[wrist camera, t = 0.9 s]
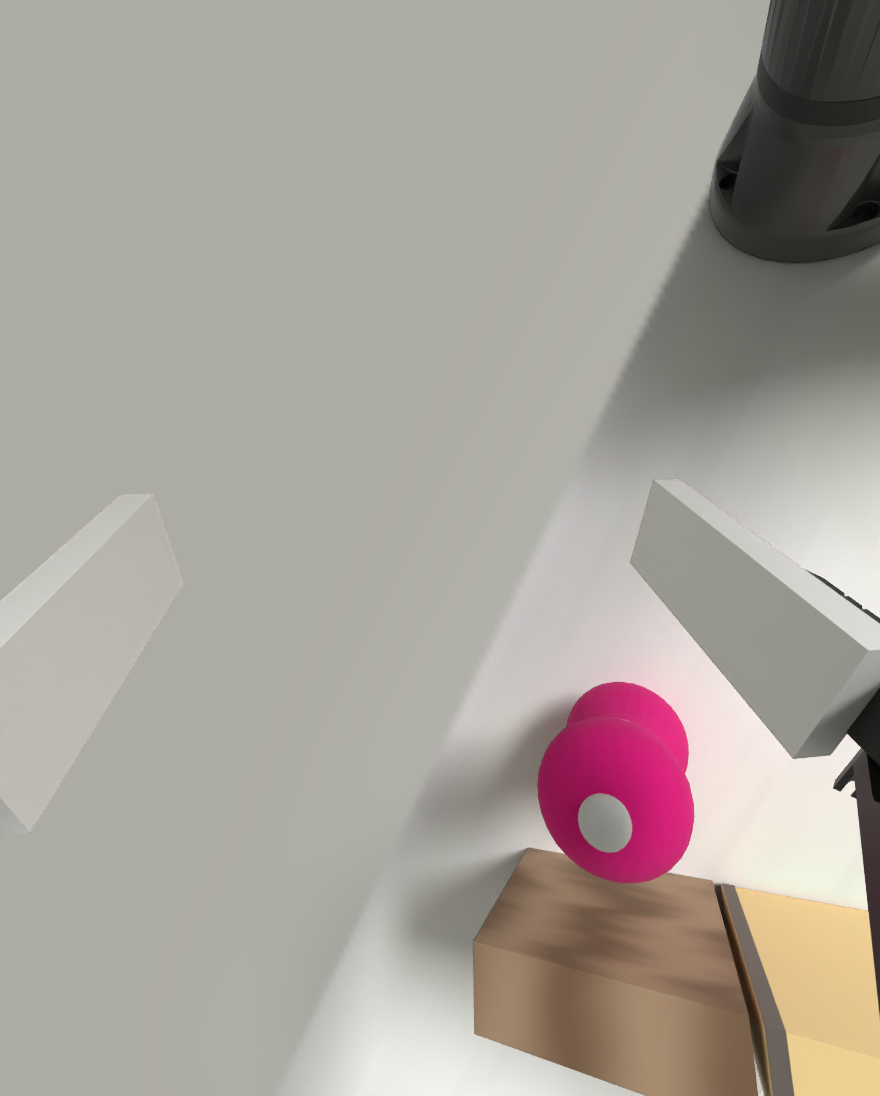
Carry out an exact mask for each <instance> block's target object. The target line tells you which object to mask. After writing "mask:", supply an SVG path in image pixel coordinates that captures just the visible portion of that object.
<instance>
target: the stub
mask: <svg viewBox="0 0 880 1096" xmlns="http://www.w3.org/2000/svg"><path fill="white" fill-rule="evenodd" d="M721 890H722V899H723V908H724V917H725V926H726V933H727V937H728V941H729V945H730V948H731V952H732V956H733V960H734V963H735V967H736V971H737V974H738V978H739V982H740V986H741V989H742V993H743V997H744V1001H745V1004H746V1008H747V1012H748V1015H749V1022H750V1031H751V1039H752V1048H753V1053H754V1057H755V1061H756V1065H757V1069H758V1073H759V1077H760V1081H761V1085H762V1089H763V1092H764V1096H880V1016H879V1006H878V997H877V987H876V978H875V968H874V959H873V949H872V940H871V930H870V921H869V911H864V910H859V909H853V908H848V907H842V906H837V905H831V904H826V903H820V902H814V901H809V900H803V899H798V898H792V897H787V896H781V895H776V894H770V893H765V892H759V891H754V890H748V889H743V888H737V887H735V886H733V885H727V884H722V885H721Z"/></svg>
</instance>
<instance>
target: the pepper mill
mask: <svg viewBox="0 0 880 1096" xmlns="http://www.w3.org/2000/svg"><path fill="white" fill-rule="evenodd" d="M688 755H689V751H688V741H687V736H686V732H685V730H684V727H683V725H682V723H681V721H680V719H679V717H678V716H677V714H676V713H675V712H674V710H673V709H672V708H671V706H670V705H668V704H667V703H666V702H665V701H664V700H663V699H662V698H661V697H659V696H658V695H657V694H655V693H654V692H652V691H650V690H648V689H646V688H644V687H642V686H639V685H635V684H632V683H626V682H611V683H606V684H601V685H599V686H597V687H594V688H592V689H591V690H589V691H587V692H586V693H585V694H584V695H583V696H582V697H580V698H579V700H578V701H577V702H576V704H575V705H574V707H573V709H572V711H571V713H570V716H569V718H568V722H567V726H566V728H565V729H563V730H562V731H561V732H560V733H559V734H558V735H557V737H556V738H555V739H554V740H553V741H552V742H551V743H550V745H549V746H548V748H547V750H546V752H545V754H544V757H543V759H542V762H541V766H540V769H539V775H538V799H539V804H540V808H541V813H542V815H543V818H544V821H545V824H546V826H547V828H548V830H549V832H550V834H551V835H552V837H553V839H554V840H555V842H556V844H557V845H558V846H559V847H560V848H561V850H562V851H563V852H564V853H565V854H566V855H567V856H568V858H570V859H571V860H572V861H573V862H574V863H576V864H577V865H578V866H579V867H580V868H582V869H584V870H585V871H587V872H589V873H590V874H592V875H594V876H597V877H600V878H602V879H605V880H608V881H612V882H617V883H623V884H626V883H641V882H647V881H651V880H653V879H656V878H658V877H660V876H661V875H663V874H664V873H666V872H668V871H669V870H671V868H672V867H673V866H674V865H675V864H676V863H677V862H678V861H679V860H680V859H681V858H682V856H683V854H684V852H685V851H686V849H687V847H688V845H689V841H690V838H691V834H692V830H693V823H694V803H693V798H692V794H691V789H690V785H689V782H688V780H687V777H686V775H685V772H686V769H687V764H688Z"/></svg>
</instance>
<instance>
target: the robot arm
mask: <svg viewBox="0 0 880 1096" xmlns="http://www.w3.org/2000/svg"><path fill="white" fill-rule="evenodd" d="M710 210H711V215H712V218H713V220H714V223H715V225H716V227H717V228H718V230H719V231H720V233H721V234H722V235H723V236H724V237H725V238H726V239H727V240H728V241H729V242H730V243H731V244H733V245H734V246H736V247H737V248H739V249H740V250H742V251H744V252H746V253H749V254H751V255H754V256H757V257H760V258H764V259H769V260H774V261H783V262H808V261H818V260H825V259H830V258H835V257H839V256H843V255H847V254H850V253H853V252H856V251H859V250H862V249H865V248H867V247H870V246H872V245H874V244H877V243H879V242H880V0H771V1H770V7H769V12H768V17H767V22H766V27H765V32H764V37H763V43H762V49H761V54H760V59H759V64H758V69H757V73H756V75H755V77H754V79H753V81H752V83H751V85H750V87H749V89H748V91H747V93H746V95H745V97H744V99H743V101H742V104H741V105H740V108H739V110H738V112H737V114H736V116H735V118H734V120H733V122H732V124H731V126H730V128H729V130H728V132H727V134H726V136H725V138H724V140H723V142H722V144H721V146H720V149H719V151H718V154H717V157H716V161H715V164H714V169H713V176H712V183H711V190H710ZM630 563H631V564H632V565H633V567H634V568H635V569H636V570H637V572H638V573H639V574H640V575H641V576H642V578H643V579H644V580H645V581H646V582H647V584H648V585H649V586H650V587H651V588H652V590H653V591H654V592H655V593H656V594H657V596H658V597H659V598H660V599H661V600H662V602H663V603H664V604H665V605H666V606H667V608H668V609H669V610H670V611H671V612H672V614H673V615H674V616H675V617H676V618H677V620H678V621H679V622H680V623H681V624H682V626H683V627H684V628H685V629H686V630H687V632H688V633H689V634H690V635H691V636H692V638H693V639H694V640H695V641H696V642H697V644H698V645H699V646H700V647H701V648H702V650H703V651H704V652H705V653H706V655H707V656H708V657H709V658H710V659H711V661H712V662H713V663H714V664H715V665H716V667H717V668H718V669H719V670H720V671H721V673H722V674H723V675H724V676H725V677H726V679H727V680H728V681H729V682H730V683H731V685H732V686H733V687H734V688H735V689H736V691H737V692H738V693H739V694H740V695H741V697H742V698H743V699H744V700H745V701H746V703H747V704H748V705H749V706H750V707H751V709H752V710H753V711H754V712H755V713H756V715H757V716H758V717H759V718H760V719H761V721H762V722H763V723H764V724H765V725H766V727H767V728H768V729H769V730H770V732H771V733H772V734H773V735H774V736H775V738H776V739H777V740H778V741H779V742H780V744H781V745H782V746H783V747H784V748H785V750H786V751H787V752H788V753H789V754H790V756H791V757H792V758H793V759H796V758H807V757H817V756H827V755H831V754H832V753H833V751H834V750H835V749H836V747H837V746H838V745H839V743H840V742H841V741H842V739H843V738H844V737H845V735H846V734H848V735H849V736H850V737H851V738H852V739H853V740H854V741H855V742H856V743H857V744H858V745H859V746H860V747H861V749H860V750H859V751H858V753H857V754H856V755H855V756H854V758H853V759H852V760H851V761H850V763H849V764H848V765H847V766H846V767H845V769H844V770H843V771H842V772H841V774H840V775H839V776H838V777H837V779H836V780H835V783H834V787H833V788H834V789H836V790H838V791H841V790H842V789H843V788H844V787H845V785H846V784H847V783H848V782H850V781H855V788H856V790H855V791H854V792H853V793H852V794H851V797H854V798H856V799H857V807H858V817H859V826H860V836H861V845H862V855H863V864H864V874H865V883H866V892H867V902H868V911H869V921H870V930H871V940H872V949H873V959H874V968H875V978H876V987H877V997H878V1006H879V1016H880V618H878V617H877V616H876V615H874V614H873V613H871V612H870V611H869V610H867V609H862V605H860V604H859V603H857V602H856V601H855V600H853V599H852V598H850V597H849V596H844V593H843V592H842V591H841V590H839V589H838V588H836V587H835V586H834V585H832V584H831V583H829V582H828V581H827V580H825V579H824V578H822V577H820V576H818V575H816V574H814V573H811V572H809V571H807V570H805V569H803V568H802V567H801V566H799V565H798V564H796V563H795V562H794V561H792V560H791V559H790V558H788V557H787V556H785V555H784V554H783V553H781V552H780V551H778V550H777V549H776V548H774V547H773V546H772V545H770V544H769V543H767V542H766V541H765V540H763V539H762V538H761V537H759V536H758V535H756V534H755V533H754V532H752V531H751V530H749V529H748V528H747V527H745V526H744V525H743V524H741V523H740V522H738V521H737V520H736V519H734V518H733V517H731V516H730V515H729V514H727V513H726V512H725V511H723V510H722V509H720V508H719V507H718V506H716V505H715V504H713V503H712V502H711V501H709V500H708V499H707V498H705V497H704V496H702V495H701V494H700V493H698V492H697V491H695V490H694V489H693V488H691V487H690V486H689V485H687V484H686V483H684V482H683V481H682V480H680V479H660V480H653V483H652V487H651V490H650V494H649V497H648V501H647V504H646V508H645V511H644V515H643V519H642V522H641V526H640V529H639V533H638V536H637V540H636V543H635V547H634V550H633V554H632V557H631V561H630ZM183 585H184V582H183V579H182V576H181V573H180V570H179V568H178V565H177V562H176V559H175V556H174V553H173V550H172V547H171V544H170V541H169V538H168V536H167V533H166V530H165V527H164V524H163V521H162V518H161V515H160V512H159V510H158V506H157V504H156V500H155V497H154V495H153V494H133V495H120V496H119V497H118V498H116V500H114V501H113V502H112V503H111V504H110V505H108V506H107V508H105V509H104V510H103V511H102V512H101V513H99V514H98V515H97V516H96V517H95V518H94V519H93V520H92V521H90V522H89V523H88V524H87V525H86V526H85V527H84V528H82V529H81V530H80V531H79V532H78V533H77V534H76V535H75V536H74V537H73V538H71V539H70V540H69V541H68V542H67V543H66V544H65V545H63V546H62V547H61V548H60V549H59V550H58V551H57V552H55V553H54V554H53V555H52V556H51V557H50V558H49V559H47V560H46V561H45V562H44V563H43V564H42V565H41V566H40V567H39V568H38V569H36V570H35V571H34V572H33V573H32V574H31V575H30V576H28V577H27V578H26V579H25V580H24V581H23V582H21V583H20V584H19V585H18V586H17V587H16V588H15V589H14V590H12V591H11V592H10V593H9V594H8V595H7V596H6V597H5V598H3V599H2V600H1V601H0V835H9V834H19V833H30V832H31V831H32V829H33V828H34V826H35V824H36V823H37V821H38V819H39V818H40V816H41V815H42V813H43V811H44V810H45V808H46V806H47V805H48V803H49V801H50V800H51V798H52V797H53V795H54V794H55V792H56V790H57V789H58V787H59V785H60V784H61V782H62V781H63V779H64V777H65V776H66V774H67V773H68V771H69V769H70V768H71V766H72V764H73V763H74V761H75V760H76V758H77V756H78V754H79V753H80V751H81V750H82V748H83V747H84V745H85V743H86V742H87V740H88V738H89V737H90V735H91V734H92V732H93V730H94V729H95V727H96V726H97V724H98V722H99V720H100V719H101V717H102V716H103V714H104V713H105V711H106V709H107V708H108V706H109V704H110V703H111V701H112V700H113V698H114V696H115V695H116V693H117V691H118V690H119V688H120V687H121V685H122V683H123V682H124V680H125V679H126V677H127V675H128V673H129V672H130V670H131V669H132V667H133V665H134V664H135V662H136V661H137V659H138V657H139V656H140V654H141V653H142V651H143V649H144V648H145V646H146V645H147V643H148V641H149V640H150V638H151V636H152V635H153V633H154V632H155V630H156V628H157V627H158V625H159V623H160V622H161V620H162V619H163V617H164V615H165V614H166V612H167V610H168V609H169V607H170V606H171V604H172V602H173V601H174V599H175V597H176V596H177V594H178V593H179V591H180V589H181V588H182V586H183Z"/></svg>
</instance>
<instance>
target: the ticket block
mask: <svg viewBox="0 0 880 1096" xmlns="http://www.w3.org/2000/svg"><path fill="white" fill-rule="evenodd" d="M473 966H474V1034H476V1035H479V1036H482V1037H484V1038H487V1039H490V1040H493V1041H496V1042H498V1043H501V1044H504V1045H507V1046H509V1047H512V1048H515V1049H518V1050H520V1051H523V1052H526V1053H529V1054H532V1055H534V1056H537V1057H540V1058H543V1059H545V1060H548V1061H551V1062H554V1063H557V1064H559V1065H562V1066H565V1067H568V1068H570V1069H573V1070H576V1071H579V1072H582V1073H584V1074H587V1075H590V1076H593V1077H595V1078H598V1079H601V1080H604V1081H607V1082H609V1083H612V1084H615V1085H618V1086H620V1087H623V1088H626V1089H629V1090H631V1091H634V1092H637V1093H640V1094H643V1095H645V1096H758V1091H757V1082H756V1074H755V1065H754V1057H753V1048H752V1039H751V1031H750V1022H749V1015H748V1012H747V1008H746V1004H745V1001H744V997H743V993H742V989H741V986H740V982H739V978H738V974H737V971H736V967H735V963H734V960H733V956H732V952H731V948H730V945H729V941H728V937H727V933H726V930H725V926H724V922H723V919H722V915H721V911H720V907H719V904H718V900H717V896H716V892H715V889H714V885H713V881H711V880H705V879H700V878H694V877H688V876H683V875H677V874H672V873H664V874H663V875H661V876H660V877H658V878H656V879H653V880H651V881H647V882H641V883H626V884H623V883H617V882H612V881H608V880H605V879H602V878H600V877H597V876H594V875H592V874H590V873H589V872H587V871H585V870H584V869H582V868H580V867H579V866H578V865H577V864H576V863H574V862H573V861H572V860H571V859H570V858H568V856H567V855H566V854H560V853H555V852H549V851H543V850H538V849H532V848H528V849H527V850H526V852H525V854H524V856H523V857H522V859H521V861H520V862H519V864H518V866H517V867H516V869H515V871H514V873H513V874H512V876H511V878H510V879H509V881H508V883H507V884H506V886H505V888H504V889H503V891H502V893H501V895H500V896H499V898H498V900H497V901H496V903H495V905H494V906H493V908H492V910H491V912H490V913H489V915H488V917H487V918H486V920H485V922H484V923H483V925H482V927H481V929H480V930H479V932H478V934H477V935H476V937H475V939H474V940H473Z"/></svg>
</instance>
